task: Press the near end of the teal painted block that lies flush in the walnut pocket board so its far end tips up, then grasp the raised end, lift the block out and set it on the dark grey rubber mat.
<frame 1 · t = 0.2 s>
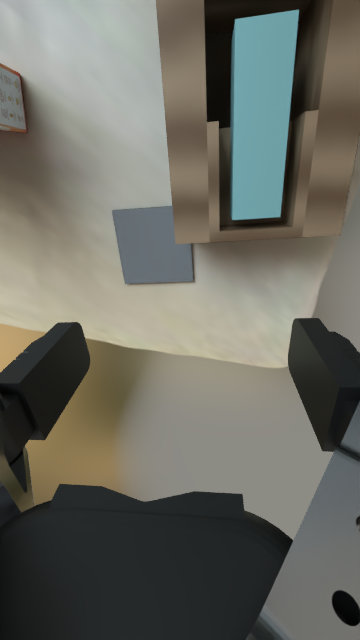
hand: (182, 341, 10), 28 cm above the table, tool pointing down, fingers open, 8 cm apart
grey mat: (155, 246, 37), on the table
teal block: (253, 137, 26), point 5 cm above the table, touching pocket board
pocket board: (247, 132, 30), on the table
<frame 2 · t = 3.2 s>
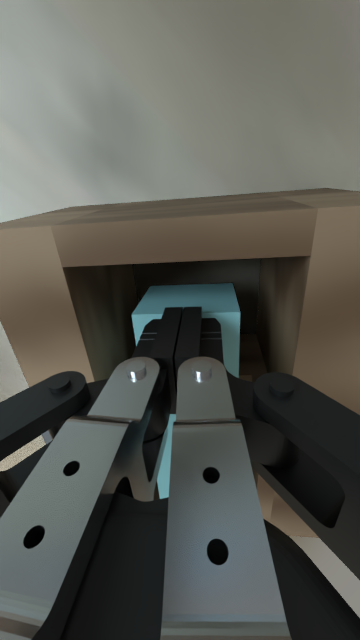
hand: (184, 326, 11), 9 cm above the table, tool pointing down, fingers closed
teal block: (196, 387, 18), point 5 cm above the table, touching gripper, pocket board
pocket board: (198, 334, 22), on the table
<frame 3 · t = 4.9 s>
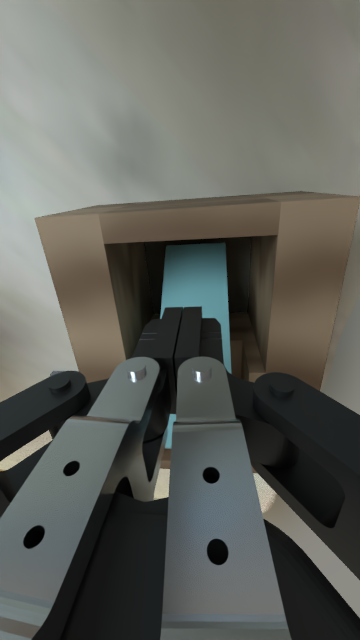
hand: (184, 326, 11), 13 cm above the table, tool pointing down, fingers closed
teal block: (197, 349, 21), point 6 cm above the table, tilted 53°, touching pocket board
pocket board: (199, 313, 26), on the table
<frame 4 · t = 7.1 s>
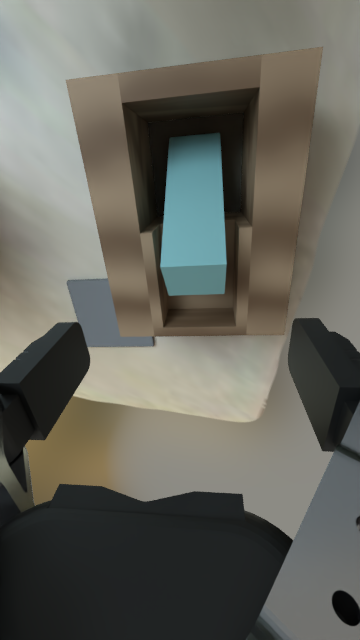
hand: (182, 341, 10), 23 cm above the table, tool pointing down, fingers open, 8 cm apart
grey mat: (113, 313, 37), on the table
teal block: (196, 228, 25), point 6 cm above the table, tilted 53°, touching pocket board
pocket board: (198, 214, 29), on the table
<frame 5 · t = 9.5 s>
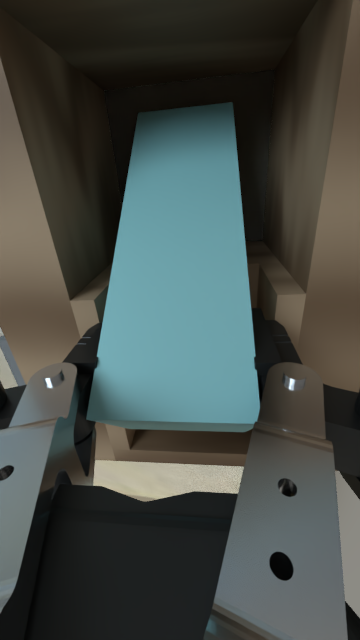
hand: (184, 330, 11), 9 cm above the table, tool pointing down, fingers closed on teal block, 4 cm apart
grey mat: (71, 381, 25), on the table
teal block: (188, 278, 13), point 6 cm above the table, tilted 53°, touching gripper, pocket board
pocket board: (193, 244, 18), on the table
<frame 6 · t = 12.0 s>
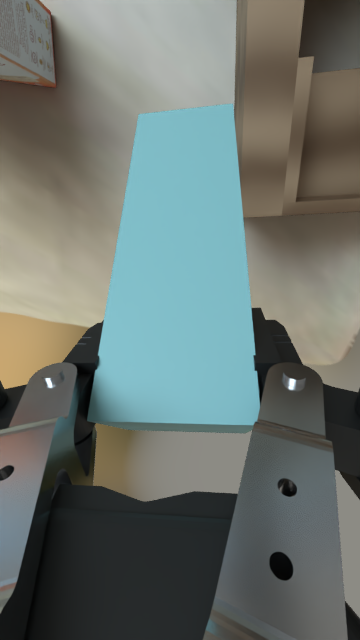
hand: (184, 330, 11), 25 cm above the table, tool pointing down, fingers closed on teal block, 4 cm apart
teal block: (189, 279, 13), point 21 cm above the table, tilted 54°, touching gripper
pocket board: (320, 87, 25), on the table
when the fingers open (11 cm above the table, at t = 15.0 s): teal block drops 7 cm, resting on grey mat.
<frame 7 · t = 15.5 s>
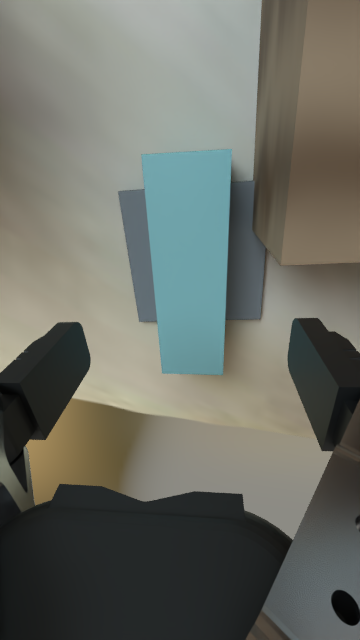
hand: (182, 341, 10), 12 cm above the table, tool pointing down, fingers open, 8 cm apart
grey mat: (195, 258, 20), on the table
teal block: (193, 265, 20), point 1 cm above the table, touching grey mat
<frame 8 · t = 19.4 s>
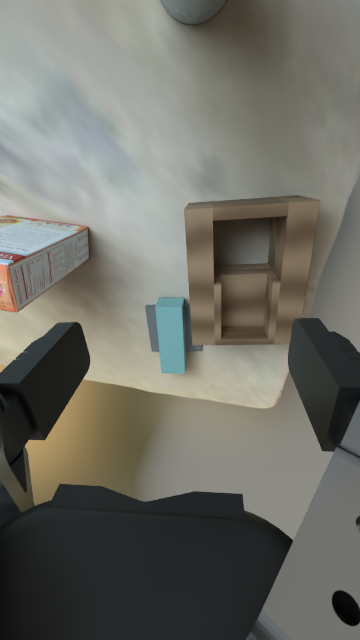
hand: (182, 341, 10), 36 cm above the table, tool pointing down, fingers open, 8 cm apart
grey mat: (174, 328, 52), on the table
teal block: (173, 331, 52), point 1 cm above the table, touching grey mat
pocket board: (240, 264, 45), on the table
cracker box: (50, 238, 46), on the table
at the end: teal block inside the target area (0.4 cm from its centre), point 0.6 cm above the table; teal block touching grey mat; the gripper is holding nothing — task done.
